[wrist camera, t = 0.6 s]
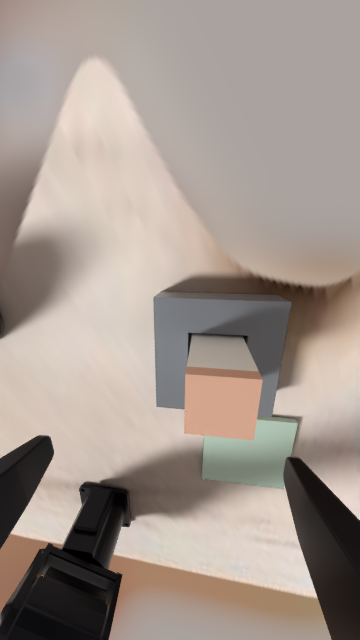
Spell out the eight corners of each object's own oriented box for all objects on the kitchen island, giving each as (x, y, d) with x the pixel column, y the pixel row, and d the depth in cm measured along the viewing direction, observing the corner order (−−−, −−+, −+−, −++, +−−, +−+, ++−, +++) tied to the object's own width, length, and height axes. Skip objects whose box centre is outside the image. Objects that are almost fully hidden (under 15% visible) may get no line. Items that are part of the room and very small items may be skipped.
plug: (234, 368, 19) (253, 440, 12) (192, 365, 20) (184, 433, 12) (238, 328, 18) (262, 379, 11) (193, 326, 19) (185, 374, 11)
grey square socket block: (262, 394, 20) (271, 417, 18) (163, 386, 22) (156, 406, 19) (277, 294, 17) (291, 302, 15) (161, 291, 19) (153, 297, 16)
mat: (281, 483, 23) (283, 489, 23) (201, 473, 24) (201, 478, 24) (295, 418, 21) (297, 423, 20) (205, 410, 22) (205, 414, 21)
